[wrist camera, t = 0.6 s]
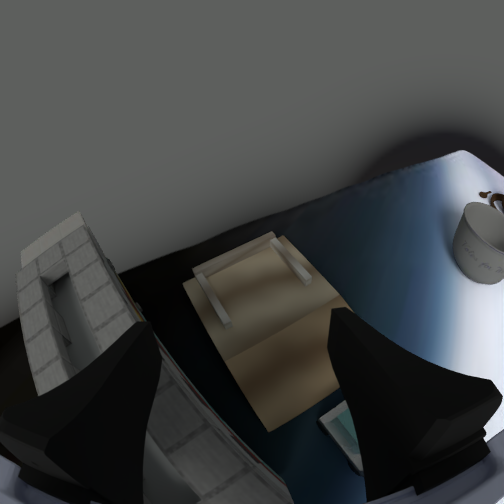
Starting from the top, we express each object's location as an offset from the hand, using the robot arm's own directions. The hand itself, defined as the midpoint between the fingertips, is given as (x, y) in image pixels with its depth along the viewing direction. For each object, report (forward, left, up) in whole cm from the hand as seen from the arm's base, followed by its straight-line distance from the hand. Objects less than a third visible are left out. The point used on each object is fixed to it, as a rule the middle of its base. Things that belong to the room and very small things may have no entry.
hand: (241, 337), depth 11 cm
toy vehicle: (+7, +9, -17) cm, 20 cm away
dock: (+7, -6, -17) cm, 20 cm away
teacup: (-4, -35, -17) cm, 39 cm away
